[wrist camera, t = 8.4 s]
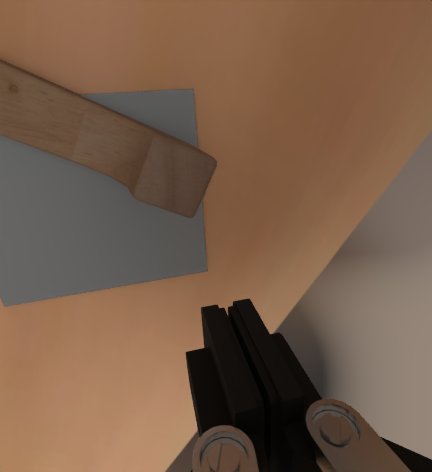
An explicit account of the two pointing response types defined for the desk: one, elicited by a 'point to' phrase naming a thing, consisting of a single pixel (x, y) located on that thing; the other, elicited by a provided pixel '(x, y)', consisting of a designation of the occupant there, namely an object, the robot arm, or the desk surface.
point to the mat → (92, 215)
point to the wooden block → (103, 141)
